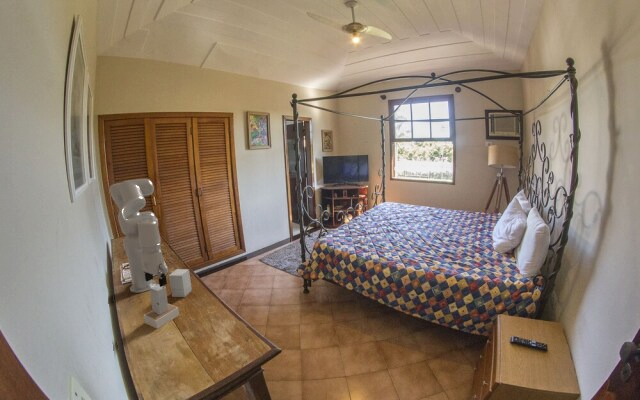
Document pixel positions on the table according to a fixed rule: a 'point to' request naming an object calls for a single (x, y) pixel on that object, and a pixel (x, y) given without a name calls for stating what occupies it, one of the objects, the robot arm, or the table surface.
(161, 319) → the tray
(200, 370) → the table surface
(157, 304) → the skincare box
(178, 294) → the supplement box
